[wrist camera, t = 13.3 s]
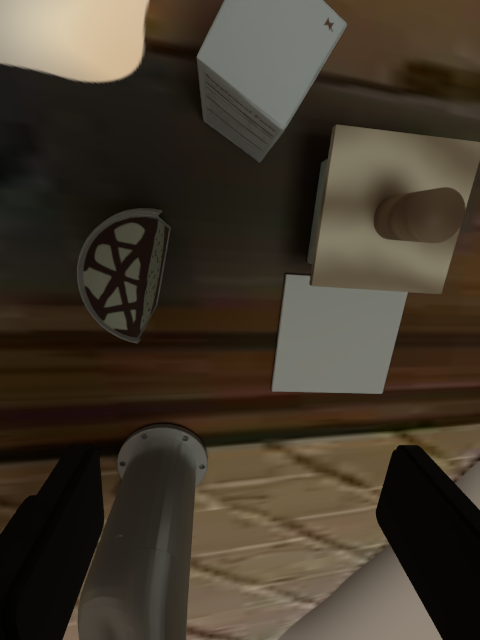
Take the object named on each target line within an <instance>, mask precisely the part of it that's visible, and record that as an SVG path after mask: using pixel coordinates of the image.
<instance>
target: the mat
mask: <svg viewBox="0 0 480 640" xmlns="http://www.w3.org/2000/svg"><path fill="white" fill-rule="evenodd" d="M309 282H310V275H296V274H285V281H284V289H283V297H282V305H281V314H280V322H279V330H278V338H277V346H276V354H275V362H274V370H273V378H272V386H271V390H272V391H285V392H330V393H375V394H382V392H383V388H384V384H385V380H386V376H387V372H388V368H389V364H390V360H391V356H392V352H393V348H394V344H395V340H396V337H397V333H398V329H399V325H400V321H401V317H402V313H403V309H404V305H405V301H406V297H407V293H408V292H399V291H383V290H366V289H350V288H334V287H318V286H311V285H309Z"/></svg>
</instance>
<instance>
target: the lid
mask: <svg viewBox="0 0 480 640" xmlns="http://www.w3.org/2000/svg"><path fill="white" fill-rule="evenodd" d="M479 160H480V142H473V141H465V140H457V139H449V138H441V137H433V136H425V135H417V134H409V133H401V132H393V131H385V130H376V129H368V128H360V127H352V126H344V125H335V126H334V127H333V128H332V135H331V142H330V148H329V155H328V162H327V168H326V175H325V182H324V189H323V195H322V202H321V209H320V215H319V222H318V229H317V235H316V242H315V249H314V255H313V262H312V269H311V275H310V282H309V285H311V286H318V287H334V288H350V289H366V290H383V291H399V292H415V293H431V294H441V293H442V289H443V286H444V282H445V279H446V275H447V272H448V268H449V265H450V261H451V258H452V254H453V251H454V247H455V244H456V240H457V237H458V233H459V230H460V227H461V225H462V223H463V220H464V217H465V209H466V206H467V202H468V199H469V195H470V192H471V188H472V185H473V181H474V178H475V174H476V171H477V167H478V164H479Z"/></svg>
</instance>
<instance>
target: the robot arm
mask: <svg viewBox="0 0 480 640" xmlns="http://www.w3.org/2000/svg"><path fill="white" fill-rule="evenodd" d="M207 466H208V456H207V451H206V448H205V446H204V444H203V443H202V441H201V440H200V438H198V437H197V436H196V435H195V434H194V433H192V432H191V431H189V430H188V429H185V428H183V427H180V426H176V425H172V424H156V425H151V426H147V427H144V428H142V429H140V430H137V431H136V432H135V433H133V434H132V435H130V436H129V437H128V439H127V440H126V441H125V442H124V444H123V445H122V447H121V450H120V452H119V455H118V460H117V469H118V472H119V475H120V477H121V479H122V480H121V483H120V486H119V489H118V491H117V494H116V497H115V500H114V503H113V505H112V508H111V511H110V514H109V517H108V519H107V522H106V525H105V528H104V531H103V533H102V536H101V539H100V542H99V545H98V547H97V550H96V553H95V556H94V559H93V561H92V564H91V567H90V570H89V573H88V575H87V578H86V581H85V584H84V587H83V590H82V593H81V597H80V602H79V608H78V633H79V640H186V627H187V607H188V591H189V575H190V561H191V546H192V530H193V514H194V499H195V488H196V487H197V486H198V485H199V484H200V482H201V481H202V480H203V478H204V476H205V474H206V471H207ZM376 518H377V521H378V524H379V526H380V527H381V529H382V531H383V533H384V535H385V536H386V538H387V540H388V542H389V544H390V545H391V547H392V549H393V551H394V553H395V554H396V556H397V558H398V560H399V562H400V563H401V565H402V567H403V569H404V571H405V572H406V574H407V576H408V578H409V580H410V581H411V583H412V585H413V586H414V589H415V590H416V592H417V594H418V596H419V598H420V599H421V601H422V603H423V605H424V607H425V608H426V610H427V612H428V614H429V616H430V617H431V619H432V621H433V623H434V625H435V626H436V628H437V630H438V632H439V634H440V635H441V637H442V639H443V640H480V510H479V509H478V508H477V507H476V506H475V505H474V504H473V503H472V502H471V500H470V499H469V498H468V497H467V496H466V495H465V494H464V493H463V492H462V491H461V490H460V489H459V488H458V487H457V485H456V484H455V483H454V482H453V481H452V480H451V479H450V478H449V477H448V476H447V475H446V474H445V473H444V472H443V470H442V469H441V468H440V467H439V466H438V465H437V464H436V463H435V462H434V461H433V460H432V459H431V458H430V457H429V456H428V454H427V453H426V452H425V451H424V450H423V449H422V448H421V447H419V446H417V445H399V446H398V447H397V449H396V450H394V451H393V453H392V456H391V459H390V463H389V466H388V470H387V473H386V477H385V481H384V484H383V488H382V491H381V495H380V498H379V502H378V505H377V509H376ZM103 524H104V508H103V496H102V483H101V470H100V457H99V451H98V450H93V446H92V445H91V444H71V445H70V446H69V447H68V448H67V449H66V451H65V452H64V454H63V456H62V457H61V459H60V460H59V462H58V463H57V465H56V466H55V468H54V469H53V471H52V472H51V474H50V476H49V477H48V479H47V480H46V482H45V483H44V485H43V486H42V488H41V489H40V491H39V492H38V494H37V495H33V496H29V497H28V498H26V499H25V500H24V501H23V503H22V504H21V505H20V507H19V508H18V510H17V511H16V512H15V514H14V515H13V517H12V518H11V520H10V521H9V523H8V524H7V526H6V527H5V528H4V530H3V531H2V533H1V534H0V640H62V639H63V637H64V634H65V631H66V628H67V626H68V623H69V620H70V617H71V615H72V612H73V609H74V606H75V604H76V601H77V598H78V595H79V593H80V590H81V587H82V584H83V581H84V579H85V576H86V573H87V570H88V568H89V565H90V562H91V559H92V557H93V554H94V551H95V548H96V546H97V543H98V540H99V537H100V535H101V532H102V528H103Z"/></svg>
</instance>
